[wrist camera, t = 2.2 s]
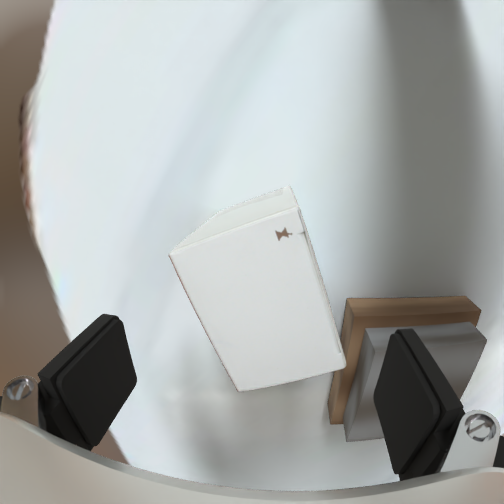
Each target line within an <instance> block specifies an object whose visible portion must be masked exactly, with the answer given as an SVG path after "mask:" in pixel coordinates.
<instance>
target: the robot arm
mask: <svg viewBox="0 0 504 504" xmlns="http://www.w3.org/2000/svg"><path fill="white" fill-rule="evenodd" d="M38 376H39V378H40V380H41V381H40V382H39V383H37V381H36V380H35V379H34V378H32V377H30V376H19V377H16V378H14V379H12V380H11V381H9V382H8V383H7V384H6V386H5V387H4V390H3V395H2V396H0V504H504V437H503V436H500V425H499V422H498V421H497V419H496V418H495V417H494V416H493V415H492V414H490V413H488V412H486V411H482V410H472V411H470V412H467V413H466V414H465V412H464V410H463V405H462V403H461V402H460V400H459V398H458V397H457V395H456V393H455V392H454V390H453V388H452V387H451V385H450V383H449V382H448V380H447V379H446V377H445V375H444V374H443V372H442V371H441V369H440V368H439V366H438V365H437V363H436V361H435V360H434V358H433V357H432V355H431V354H430V352H429V351H428V349H427V348H426V347H425V345H424V344H423V342H422V341H421V339H420V338H419V336H418V335H417V333H416V332H415V331H414V329H412V328H410V329H397V330H396V331H395V334H391V335H390V338H389V342H388V346H387V350H386V353H385V357H384V361H383V364H382V368H381V371H380V374H379V378H378V381H377V384H376V387H375V390H374V395H373V400H374V404H375V407H376V410H377V414H378V417H379V420H380V424H381V427H382V431H383V434H384V438H385V441H386V445H387V449H388V452H389V456H390V460H391V464H392V468H393V471H394V473H395V474H399V478H400V481H398V482H392V483H386V484H380V485H373V486H365V487H357V488H348V489H337V490H321V491H271V490H254V489H242V488H233V487H225V486H217V485H211V484H205V483H199V482H193V481H188V480H183V479H179V478H174V477H170V476H166V475H162V474H158V473H154V472H150V471H147V470H143V469H140V468H136V467H133V466H130V465H127V464H123V463H120V462H117V461H115V460H112V459H109V458H106V457H104V456H101V455H98V454H95V453H93V452H91V450H92V448H93V447H94V446H97V445H98V444H99V443H100V441H101V439H102V438H103V436H104V435H105V433H106V431H107V430H108V428H109V427H110V425H111V423H112V422H113V420H114V419H115V417H116V415H117V414H118V412H119V411H120V409H121V408H122V406H123V404H124V403H125V401H126V400H127V398H128V397H129V395H130V394H131V392H132V390H133V389H134V387H135V386H136V383H137V376H136V373H135V369H134V366H133V362H132V358H131V354H130V350H129V346H128V342H127V338H126V334H125V330H124V325H123V322H122V321H121V320H120V319H119V318H118V317H117V316H115V315H108V314H102V315H101V316H100V317H98V318H97V319H96V320H95V321H94V322H93V323H92V324H91V325H89V326H88V327H87V328H86V329H85V330H84V331H83V332H82V333H81V334H79V335H78V336H77V337H76V338H75V339H74V340H73V341H72V342H71V343H70V344H68V345H67V346H66V347H65V348H64V349H63V350H62V351H61V352H60V353H59V354H58V355H57V356H56V357H55V358H53V360H51V362H49V363H48V364H47V365H46V366H45V367H44V368H43V369H42V370H41V371H40V372H39V373H38Z"/></svg>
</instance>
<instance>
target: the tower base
mask: <svg viewBox="0 0 504 504" xmlns="http://www.w3.org/2000/svg"><path fill="white" fill-rule="evenodd" d="M480 313H481V310H480V309H479V308H478V307H477V306H476V305H475V304H474V303H473V302H472V301H470V300H469V299H468V298H467V297H466V296H450V297H420V298H347V302H346V309H345V315H344V322H343V328H342V334H341V340H340V342H341V345H342V349H343V353H344V356H345V360H346V367H345V368H343V369H340V370H337V371H335V372H334V377H333V382H332V386H331V391H330V395H329V400H328V410H329V418H330V424H344V430H345V436H346V442H351V441H362V440H372V439H380V438H384V434H383V431H382V427H381V424H380V420H379V417H378V414H377V410H376V407H375V404H374V400H373V395H374V390H375V387H376V384H377V381H378V378H379V374H380V371H381V368H382V364H383V361H384V357H385V353H386V350H387V346H388V342H389V338H390V335H391V334H395V331H396V330H397V329H410V328H412V329H414V331H415V332H416V333H417V335H418V336H419V338H420V339H421V341H422V342H423V344H424V345H425V347H426V348H427V349H428V351H429V352H430V354H431V355H432V357H433V358H434V360H435V361H436V363H437V365H438V366H439V368H440V369H441V371H442V372H443V374H444V375H445V377H446V379H447V380H448V382H449V383H450V385H451V387H452V388H453V390H454V392H455V393H456V395H457V397H458V398H459V400H460V398H461V396H462V395H463V393H464V391H465V389H466V387H467V385H468V383H469V381H470V379H471V376H472V374H473V372H474V370H475V368H476V366H477V363H478V361H479V359H480V356H481V354H482V352H483V349H484V347H485V344H486V342H487V339H486V338H485V337H484V336H483V335H482V334H481V333H480V331H479V330H478V329H477V328H476V325H477V322H478V319H479V316H480Z"/></svg>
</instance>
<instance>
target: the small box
mask: <svg viewBox="0 0 504 504" xmlns="http://www.w3.org/2000/svg"><path fill="white" fill-rule="evenodd" d="M169 257H170V259H171V261H172V263H173V266H174V268H175V270H176V272H177V275H178V277H179V279H180V281H181V283H182V285H183V287H184V290H185V292H186V294H187V296H188V298H189V300H190V302H191V304H192V306H193V308H194V310H195V312H196V314H197V316H198V318H199V320H200V322H201V324H202V326H203V328H204V330H205V332H206V334H207V336H208V337H209V339H210V341H211V343H212V345H213V347H214V349H215V351H216V353H217V354H218V356H219V358H220V360H221V362H222V364H223V366H224V367H225V369H226V371H227V373H228V375H229V376H230V378H231V380H232V382H233V384H234V385H235V387H236V389H237V391H238V392H243V391H250V390H256V389H261V388H266V387H271V386H276V385H281V384H285V383H290V382H294V381H298V380H303V379H307V378H311V377H315V376H318V375H322V374H326V373H329V372H333V371H337V370H340V369H343V368H345V367H346V360H345V356H344V353H343V349H342V345H341V342H340V338H339V335H338V331H337V328H336V324H335V321H334V317H333V314H332V310H331V307H330V303H329V300H328V296H327V293H326V289H325V286H324V283H323V279H322V276H321V273H320V270H319V266H318V263H317V260H316V257H315V253H314V250H313V247H312V244H311V241H310V238H309V235H308V231H307V228H306V225H305V222H304V220H303V217H302V214H301V210H300V208H299V205H298V203H297V200H296V197H295V195H294V192H293V190H292V188H291V187H290V186H286V187H283V188H281V189H278V190H275V191H272V192H269V193H266V194H263V195H260V196H258V197H255V198H252V199H249V200H247V201H244V202H241V203H238V204H236V205H233V206H230V207H227V208H225V209H222V210H220V211H219V212H217V213H216V214H215V215H213V216H212V217H211V218H210V219H208V220H207V221H206V222H205V223H203V224H202V225H201V226H200V227H199V228H197V229H196V230H195V231H194V232H193V233H191V234H190V235H189V236H187V237H186V238H185V239H184V240H183V241H181V242H180V243H179V244H178V245H177V246H175V247H174V248H173V249H172V250H171V251H170V252H169Z"/></svg>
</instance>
